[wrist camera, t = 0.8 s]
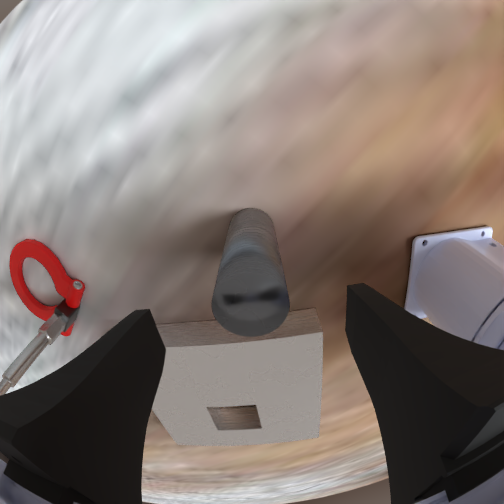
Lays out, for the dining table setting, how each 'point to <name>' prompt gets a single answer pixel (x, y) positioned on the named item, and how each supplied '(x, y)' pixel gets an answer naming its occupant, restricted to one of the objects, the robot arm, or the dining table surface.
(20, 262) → the tow hook
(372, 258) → the dining table surface
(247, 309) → the pin
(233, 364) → the bore block
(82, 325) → the dining table surface
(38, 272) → the dining table surface
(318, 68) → the dining table surface
